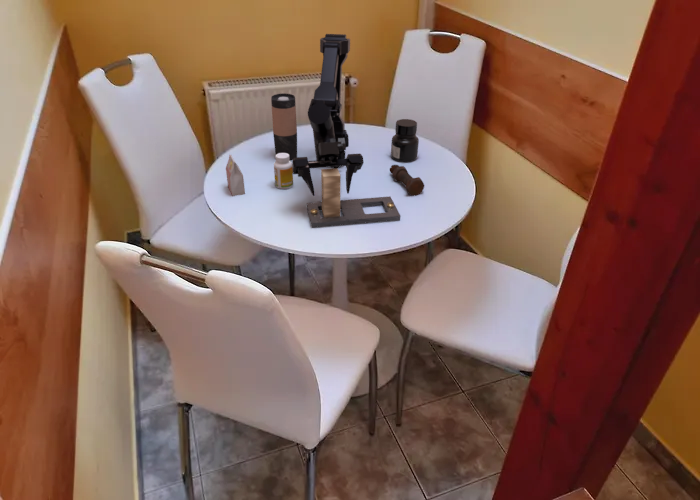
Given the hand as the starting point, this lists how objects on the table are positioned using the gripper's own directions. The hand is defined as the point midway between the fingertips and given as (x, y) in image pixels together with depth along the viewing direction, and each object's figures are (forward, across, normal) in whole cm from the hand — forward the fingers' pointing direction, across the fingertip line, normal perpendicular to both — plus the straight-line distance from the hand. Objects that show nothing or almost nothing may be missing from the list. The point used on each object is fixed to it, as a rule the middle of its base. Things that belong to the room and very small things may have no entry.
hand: (331, 194), depth 142 cm
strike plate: (+4, +6, +5) cm, 9 cm away
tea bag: (-9, -25, +19) cm, 33 cm away
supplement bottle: (-10, -11, +20) cm, 24 cm away
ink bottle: (-20, +30, +29) cm, 46 cm away
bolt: (-6, +25, +16) cm, 30 cm away
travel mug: (-24, -9, +34) cm, 43 cm away
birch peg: (+4, 0, +5) cm, 7 cm away
